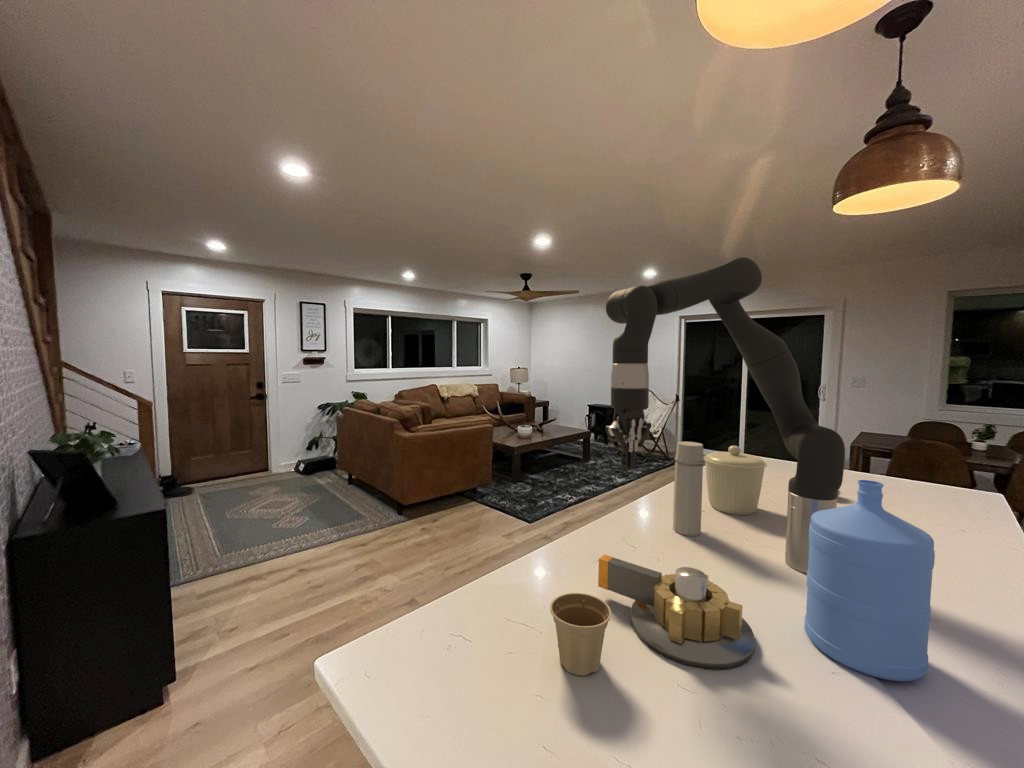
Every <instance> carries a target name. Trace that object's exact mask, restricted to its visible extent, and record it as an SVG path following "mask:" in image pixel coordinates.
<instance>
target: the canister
mask: <svg viewBox="0 0 1024 768" xmlns="http://www.w3.org/2000/svg"><path fill="white" fill-rule="evenodd" d="M727 449H728V451H713V452H710V453H708V454H707V455H704V462H705V464H704V465H705V475H706V487H707V495H708V496H707V497H708V502H709V504H710V506H711V507H712V508H713V509H714V508H715V509H714V510H715V511H719V512H720V513H724V514H727V515H728V514H729V515H735V516H751V515H753V514H755V512H756V511H757V509H758V507H759V501H760V496H761V491H762V487H763V486H762V484H763V479H764V474H765V473H764V472H765V468H766V467H767V466H768V463H767V462H766V461H764V460H763V459H762V458H760V457H758V456H755V455H753V454H748V453H744V452H742V449H741V447H739V446H737V445H730V446H729V447H728V448H727Z"/></svg>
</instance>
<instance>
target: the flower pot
mask: <svg viewBox="0 0 1024 768" xmlns="http://www.w3.org/2000/svg"><path fill="white" fill-rule="evenodd" d="M549 609H550V613H551V616H552V618H553V621H554V624H555V630H556V640H557V647H558V656H559V662H560V664H561V665H562V666H563V668H564V669H565V671H567V672H568V673H571V674H572V675H576V676H588V675H589V674H592V673H596V672H597V671H598V670H599V668H600V666H601V659H602V652H603V646H604V638H605V633H606V629H607V626H608V624H609V622H610V620H611V617H612V610H611V607H610V606H609V604H608V603H607V602H605V601H604V600H603V599H602V598H599V597H597V596H596V595H592V594H589V593H584V592H583V593H582V592H568V593H564V594H560V595H558V596H557V597H555V598H554V599H552V601H551V602H550V606H549Z"/></svg>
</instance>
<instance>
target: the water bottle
mask: <svg viewBox="0 0 1024 768" xmlns="http://www.w3.org/2000/svg"><path fill="white" fill-rule="evenodd" d="M675 450H676V451H675V457H674V461H675V462H674V481H673V482H674V486H673V487H674V488H673V520H672V521H673V522H672V524H673V525H672V529H673V530H674V531H676V532H675V533H677V534H680V535H681V534H682V536H686V537H695V536H696V537H697V536H699V535H700V534H701V532H702V505H703V503H702V502H703V475H704V474H703V473H704V465H706V464H705V460H704V456H705V454H704V444H703V443H699V442H697V441H696V442H695V441H678V442H677V443H676V449H675Z"/></svg>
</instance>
